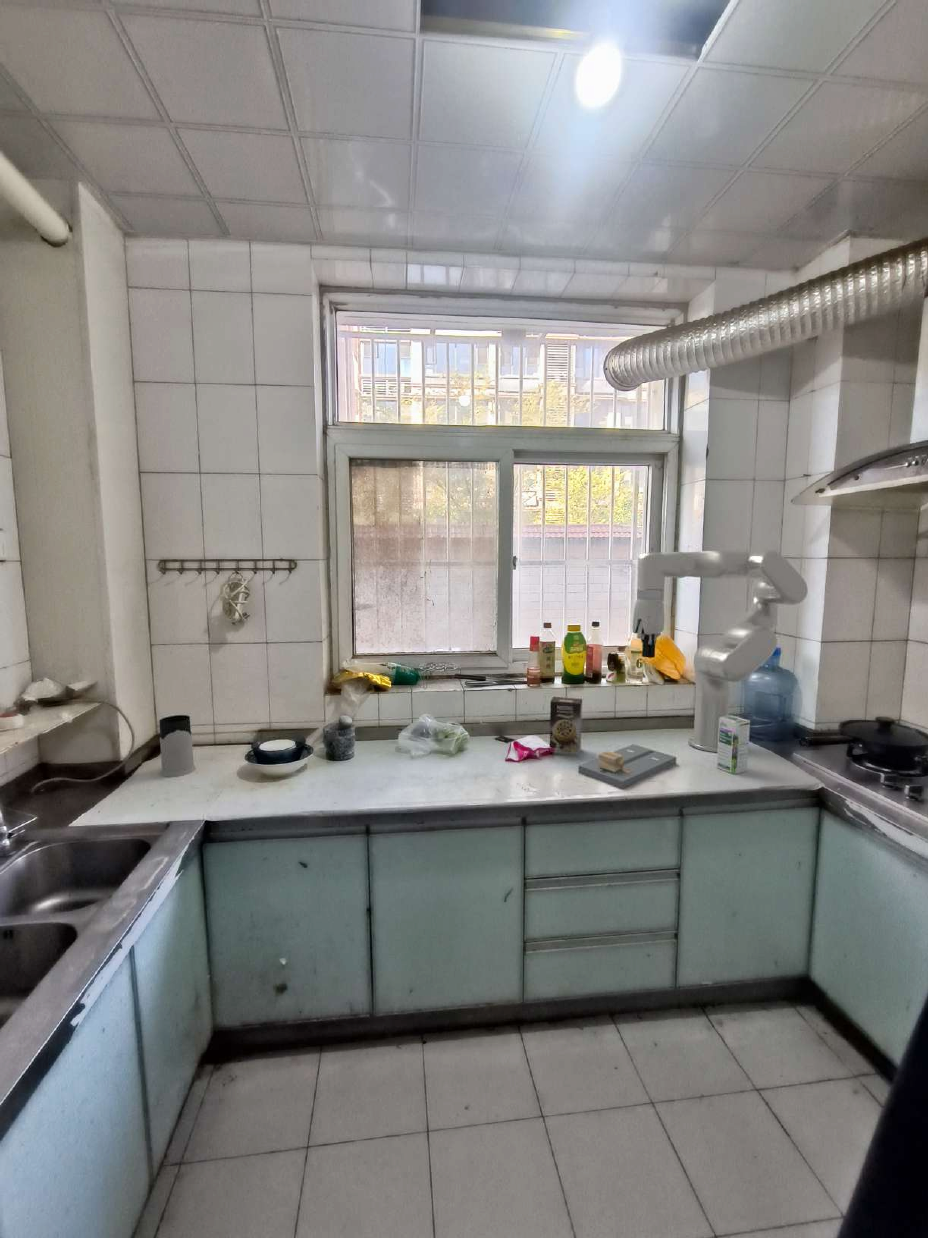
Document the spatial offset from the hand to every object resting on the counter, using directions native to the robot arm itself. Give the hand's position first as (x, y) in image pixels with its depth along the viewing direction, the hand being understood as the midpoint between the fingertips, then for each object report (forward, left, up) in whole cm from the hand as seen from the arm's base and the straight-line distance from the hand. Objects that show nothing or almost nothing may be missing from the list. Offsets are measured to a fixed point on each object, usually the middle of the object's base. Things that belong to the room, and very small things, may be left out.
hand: (648, 656), depth 159 cm
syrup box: (-6, +23, -29) cm, 38 cm away
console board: (+15, +4, -29) cm, 33 cm away
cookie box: (+18, -16, -29) cm, 38 cm away
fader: (+23, +4, -27) cm, 36 cm away
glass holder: (+112, -79, -29) cm, 140 cm away
